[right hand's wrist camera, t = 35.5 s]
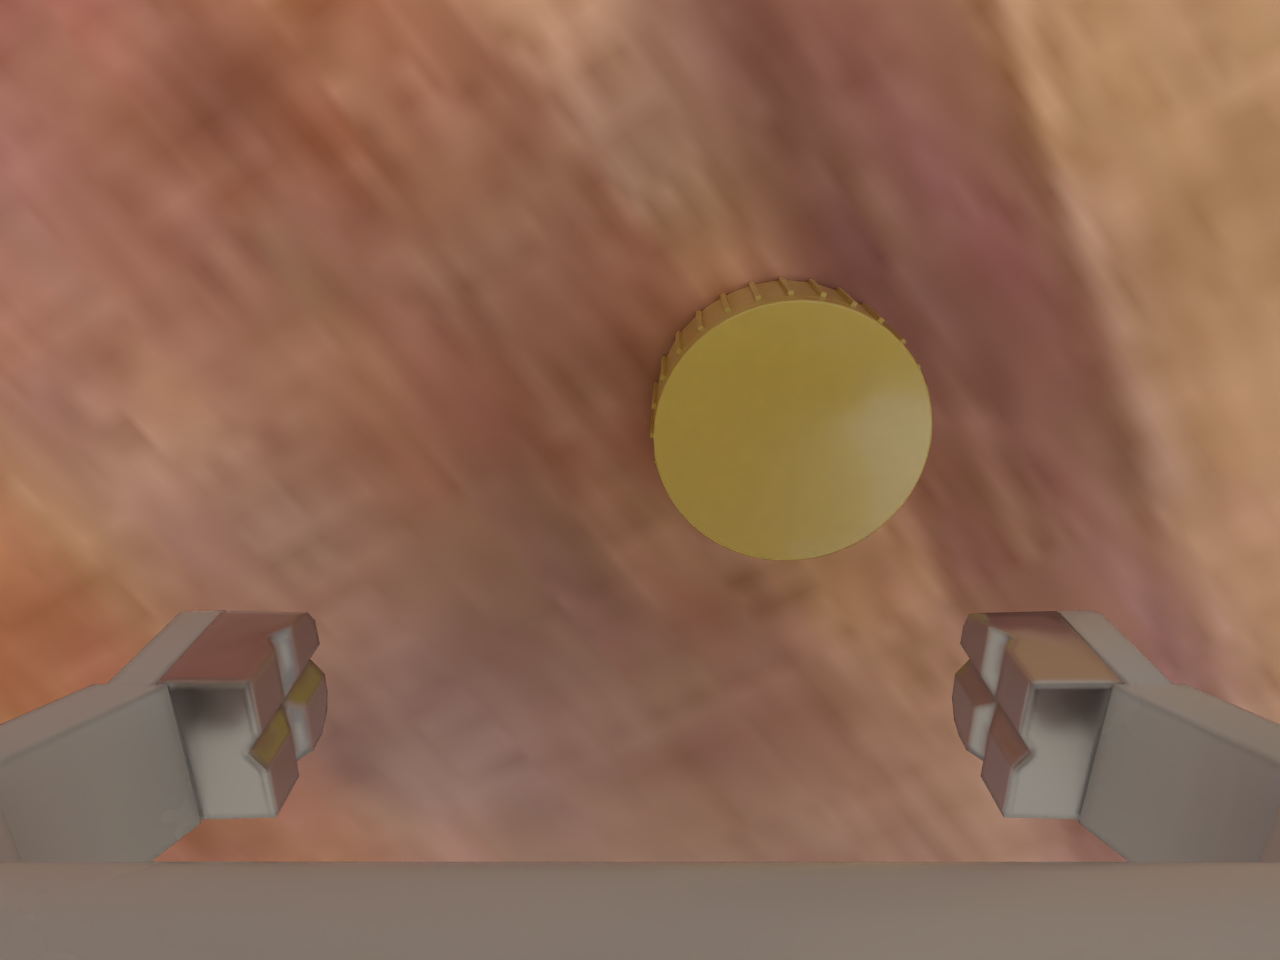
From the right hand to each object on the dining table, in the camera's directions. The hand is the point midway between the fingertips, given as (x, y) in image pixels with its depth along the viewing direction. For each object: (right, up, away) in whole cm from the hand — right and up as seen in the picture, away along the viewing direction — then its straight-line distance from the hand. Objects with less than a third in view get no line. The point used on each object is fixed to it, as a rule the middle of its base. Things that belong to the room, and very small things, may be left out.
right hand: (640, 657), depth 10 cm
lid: (+3, +3, +6) cm, 7 cm away
